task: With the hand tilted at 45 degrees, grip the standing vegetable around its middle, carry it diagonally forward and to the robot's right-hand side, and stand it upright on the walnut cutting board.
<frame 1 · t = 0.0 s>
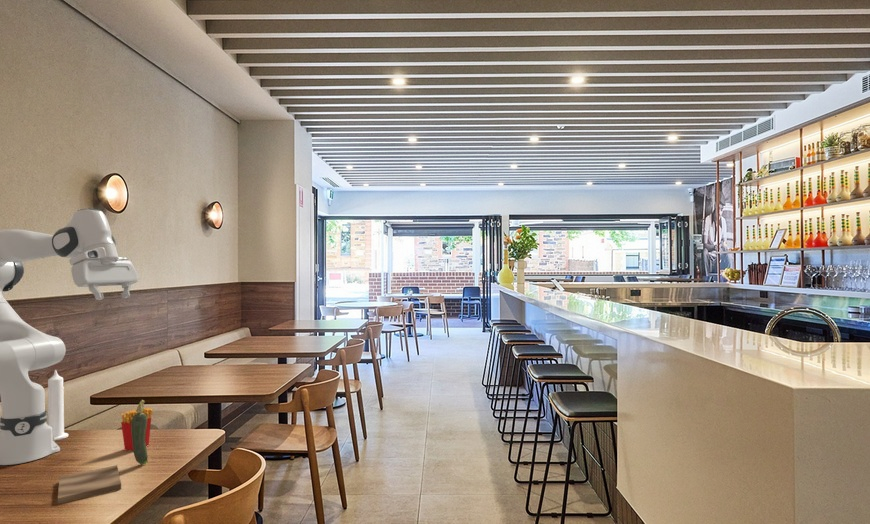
hand: (113, 298, 156), 52 cm above the table, tool tilted 20°, fingers open, 8 cm apart
cutting board: (89, 485, 141), on the table
french fries: (137, 448, 171), on the table
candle: (56, 438, 184), on the table
vegetable: (140, 465, 155), on the table
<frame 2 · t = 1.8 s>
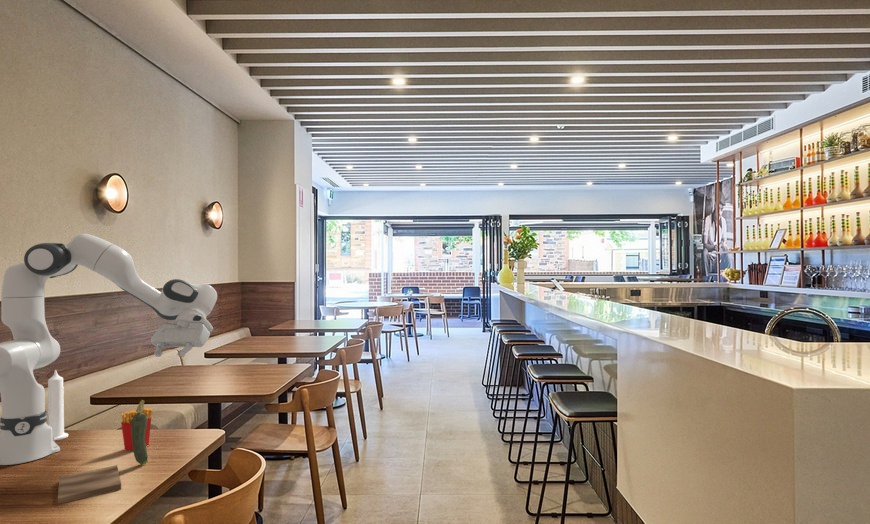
hand: (168, 355, 168), 32 cm above the table, tool tilted 45°, fingers open, 8 cm apart
nothing on the table moved.
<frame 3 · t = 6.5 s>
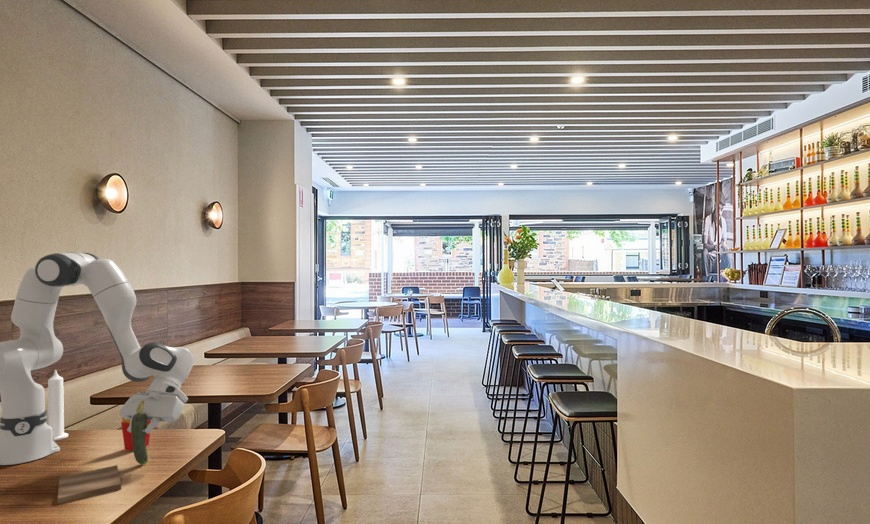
hand: (137, 432, 155), 10 cm above the table, tool tilted 45°, fingers closed on vegetable, 4 cm apart
vegetable: (140, 465, 155), on the table, touching gripper
everything else where it was.
when the fingers open (13 cm above the table, at t = 16.1 s): vegetable stays where it is, resting on cutting board.
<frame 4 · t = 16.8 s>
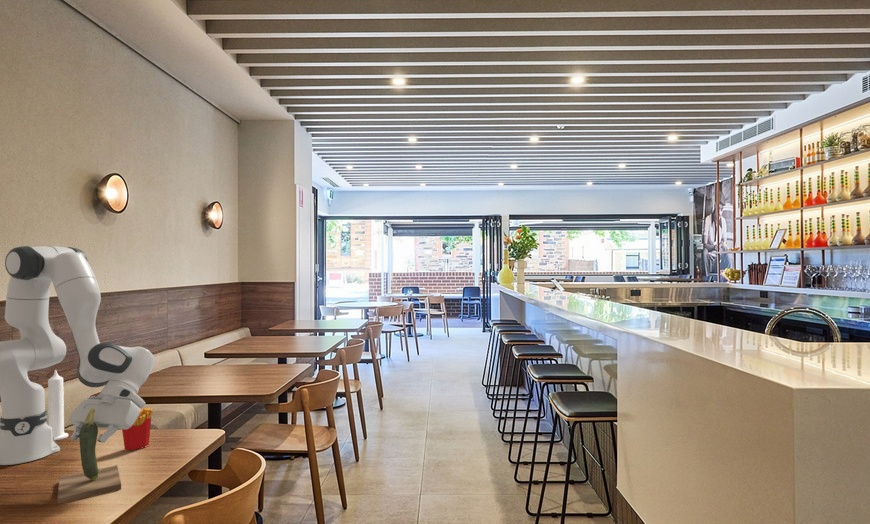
hand: (87, 440, 141), 13 cm above the table, tool tilted 45°, fingers open, 8 cm apart
vegetable: (89, 481, 141), point 1 cm above the table, touching cutting board
everything else where it was.
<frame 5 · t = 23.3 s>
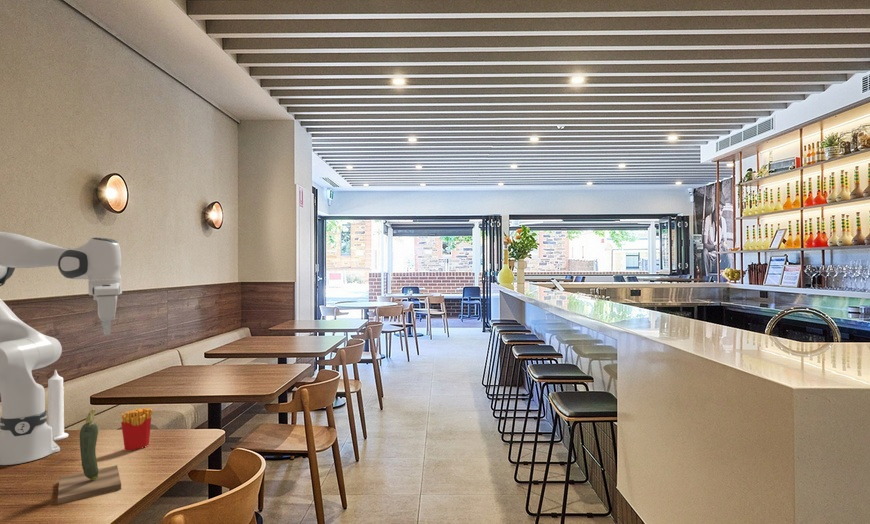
hand: (106, 333, 157), 41 cm above the table, tool pointing down, fingers open, 8 cm apart
nothing on the table moved.
at the end: vegetable inside the target area on the cutting board (0.0 cm from its centre), point 1.3 cm above the cutting board's base; vegetable tilted 0°; the gripper is holding nothing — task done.
